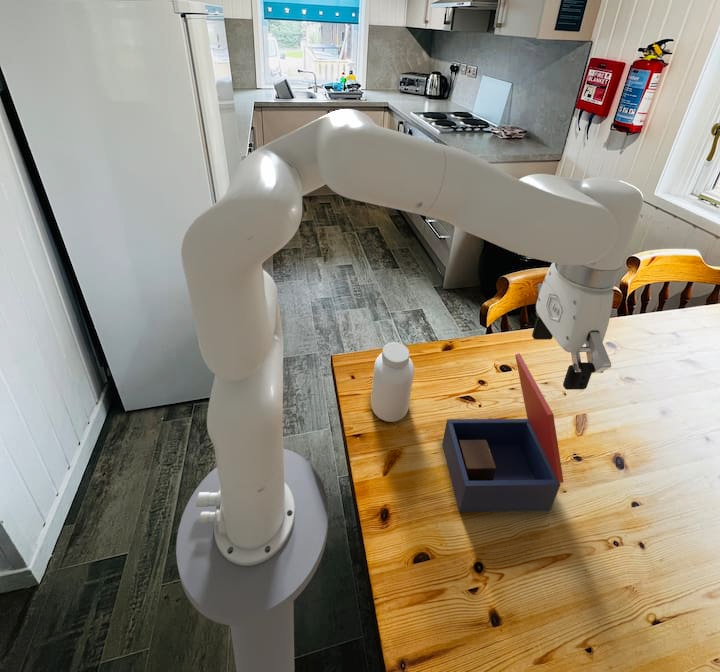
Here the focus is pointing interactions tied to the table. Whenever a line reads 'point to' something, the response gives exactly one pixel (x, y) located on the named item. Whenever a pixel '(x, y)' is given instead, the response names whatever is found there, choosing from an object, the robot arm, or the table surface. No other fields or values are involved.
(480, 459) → the block
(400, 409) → the pill bottle
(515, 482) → the box
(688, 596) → the table surface
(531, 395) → the lunchbox lid
